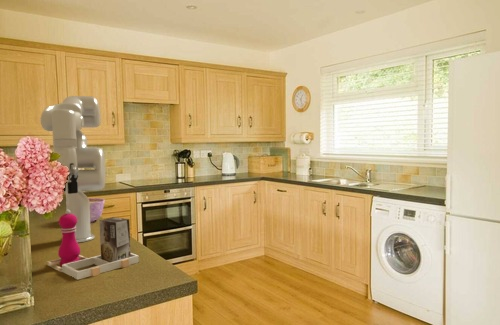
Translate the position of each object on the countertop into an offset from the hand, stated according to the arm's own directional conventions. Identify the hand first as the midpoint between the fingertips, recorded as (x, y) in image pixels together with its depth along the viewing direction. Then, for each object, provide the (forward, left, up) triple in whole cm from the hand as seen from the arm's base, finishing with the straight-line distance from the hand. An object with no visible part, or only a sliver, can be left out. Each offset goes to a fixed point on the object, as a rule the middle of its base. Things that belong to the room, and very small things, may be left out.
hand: (66, 192), depth 134 cm
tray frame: (0, 0, -26) cm, 26 cm away
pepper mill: (0, 0, -27) cm, 27 cm away
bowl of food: (-68, +38, -27) cm, 82 cm away
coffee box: (+12, +12, -27) cm, 31 cm away
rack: (+12, +6, -26) cm, 29 cm away
